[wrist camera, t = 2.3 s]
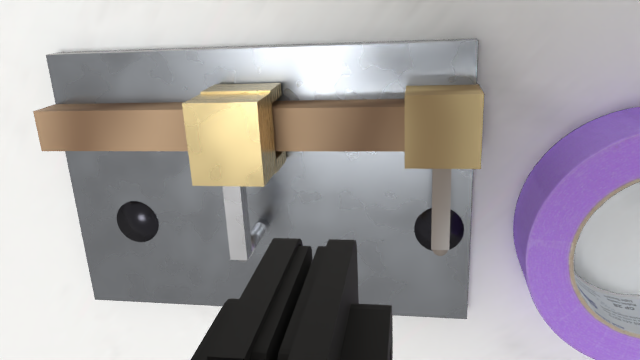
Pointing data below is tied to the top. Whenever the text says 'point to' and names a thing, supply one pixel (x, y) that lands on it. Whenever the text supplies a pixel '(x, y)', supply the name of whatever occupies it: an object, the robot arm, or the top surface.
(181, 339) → the top surface
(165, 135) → the trammel beam
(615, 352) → the masking tape
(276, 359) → the robot arm
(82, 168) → the plate
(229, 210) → the sliding head
